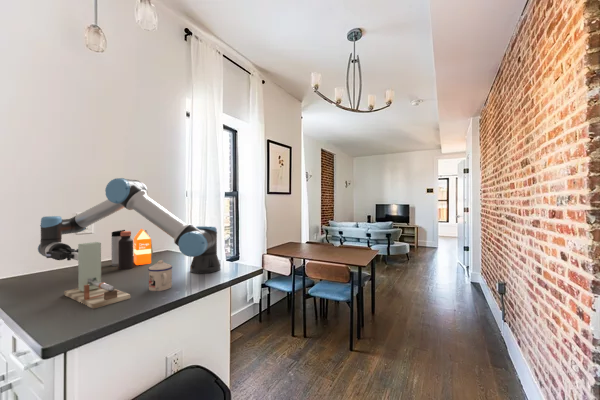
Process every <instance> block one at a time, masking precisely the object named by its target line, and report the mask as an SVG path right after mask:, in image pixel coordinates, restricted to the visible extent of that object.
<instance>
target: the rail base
mask: <svg viewBox="0 0 600 400" xmlns="http://www.w3.org/2000/svg"><path fill="white" fill-rule="evenodd" d="M63 292H64V293H63V295H64V296H66V297H68V298H70V299H72V300H74V301H77V302H78V303H80V302H81V303H80V304H82V303H83V304H82V305H84V304H85V306H86V305H87V307H88V308H91V309H98V308H101V307H104V306H109V305H113V304H115V303H118V302H123V301H126V300H129V299H131V294H130V293H127V292H126V291H122V290H119V289H116V288H114V290H113V291H112V292H109V291H107V290H104V289H100V288H96V289H92V290H89V285H84V291H83V292H82V291H80V290H78V287H76V288H72V289H67V290H64V291H63Z"/></svg>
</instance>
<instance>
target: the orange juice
mask: <svg viewBox="0 0 600 400" xmlns="http://www.w3.org/2000/svg"><path fill="white" fill-rule="evenodd" d="M149 236H150V235H149V234H148V235H147V234H146V232H145V230H144V229H143V228H140V230H139V231H138V232H137V233H136V235H134V238H133V264H135V265H136V266H139V265H140V266H141V265H142V266H143V265H148V264H152V256H151V241H152V239H151V236H150V237H149Z"/></svg>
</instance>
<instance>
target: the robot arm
mask: <svg viewBox="0 0 600 400" xmlns="http://www.w3.org/2000/svg"><path fill="white" fill-rule="evenodd" d="M104 191H105V197H106V198H107V199H106V200H104V201H102V202H100V203H98V204H96V205H94V206H92V207H90V208H88V209H86V210H85V211H82V212H81V213H78V214H77V215H75V216H73V217H70V218H64V219H63V218H62V216H60V215H51V216H50V215H49V216H42V217H41V219H40V225H39V226H40V241H39V242H40V243H39V244H38V247H37V252H38V254H40V255H41V256H43V257H45V258H46V259H53V260H55V261H64V260H66V261H71V260H73V261H77V262H78V248H76V249H75V248H72V247H71V246H70V245H69V244H66V243H63V242H62V235H67V234H69V235H70V234H78V233H81V232H83V231H85V230H86V229H87V228H88V227H89V226H91V225H93V224H95V223H97V222H99V221H101V220H103V219H105V218H108V216H111V215H113V214H115V213H117V212H119V211H121V210H123V209H127V210H128V211H132V210H134V211H135V212H137V214H139V215H141V216H142V217H144V218H145V219H146V220H148V222H150V223H152V224H153V225H154V226H155V227H157V228H158V229H160V230H162V232H164V233H166V234H167V235H168V236H170V237H171V238H172V239H173V244H175V245H177V246H178V249H179V251H180V252H181V253H182V254H183V255H185V256H186V257H190V258H192V261H191V263H190V266H189V267H190V268H189V272H190V273H193V274H209V273H210V274H211V273H215V272H218V271H220V270H221V263H220V260H219V257H218V242H217V241H218V231H217V227H216V226H209V225H207V226H206V225H202V226H198V225H197V226H195V225H194V224H192V223H187V224H186V223H185V222H184V221H183V220H181V219H179V218H178V217H177V216H175V215H174V214H173V213H171V212H170V211H168V210H167V209H166V208H165V207H163V206H162V205H160V204H159V203H157V202H156V201H155V200H154V199H152V198H151V197H149V196H148V188H147V186H146V184H145V183H144V182H143V181H140V180H138V179H137V180H136V179H128V178H123V177H120V178H118V177H116V178H113V179H111V180H110V181H109V182H108V183H107V184H106V186H105V190H104Z"/></svg>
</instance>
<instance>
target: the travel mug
mask: <svg viewBox="0 0 600 400" xmlns="http://www.w3.org/2000/svg"><path fill="white" fill-rule="evenodd" d="M123 231H126V230H125V229H121V230H116V231H112V232H111V266H112V267H119V249H118V242H119V240H120V239H121V232H123Z"/></svg>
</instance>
